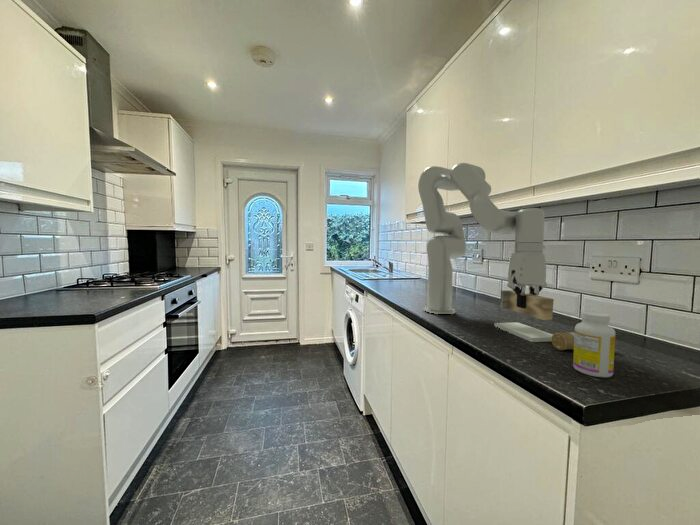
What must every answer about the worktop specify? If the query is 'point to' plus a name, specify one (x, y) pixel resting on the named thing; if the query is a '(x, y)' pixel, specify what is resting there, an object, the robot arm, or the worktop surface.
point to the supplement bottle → (594, 345)
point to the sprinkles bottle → (563, 340)
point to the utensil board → (525, 331)
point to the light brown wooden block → (528, 304)
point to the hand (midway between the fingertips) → (526, 306)
